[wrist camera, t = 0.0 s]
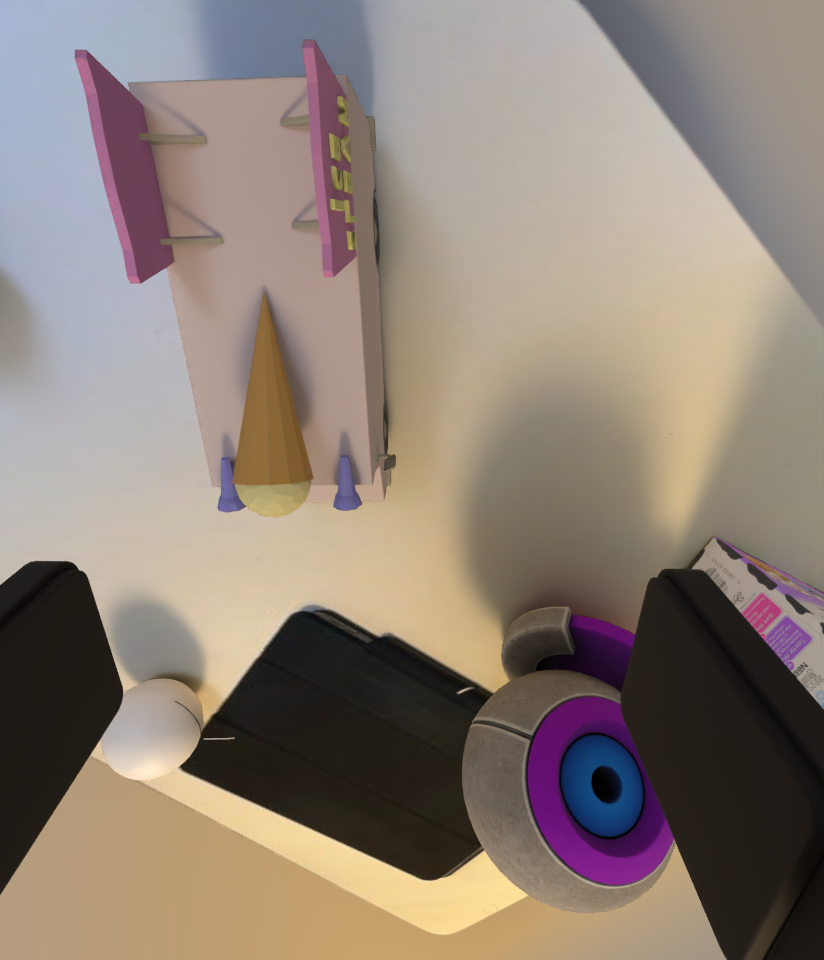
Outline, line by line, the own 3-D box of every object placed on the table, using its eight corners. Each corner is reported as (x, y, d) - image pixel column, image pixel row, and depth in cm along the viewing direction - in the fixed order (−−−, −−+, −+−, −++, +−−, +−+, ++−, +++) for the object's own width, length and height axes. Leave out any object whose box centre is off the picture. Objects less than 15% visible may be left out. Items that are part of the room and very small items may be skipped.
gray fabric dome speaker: (731, 687, 33) (733, 976, 23) (614, 738, 42) (577, 961, 32) (557, 579, 34) (483, 810, 24) (479, 652, 44) (402, 841, 33)
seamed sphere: (127, 709, 45) (76, 790, 39) (135, 649, 42) (82, 725, 36) (238, 736, 47) (208, 819, 40) (255, 679, 44) (224, 758, 37)
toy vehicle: (269, 470, 35) (174, 614, 22) (216, 132, 27) (10, 23, 13) (403, 468, 35) (392, 612, 21) (391, 126, 27) (361, 9, 13)
